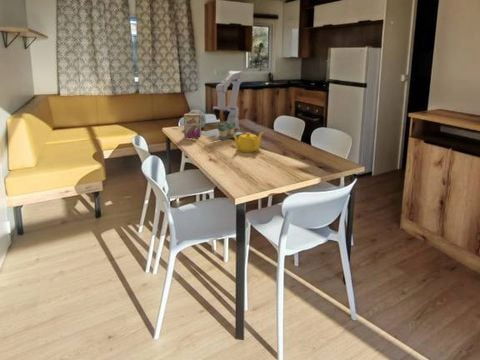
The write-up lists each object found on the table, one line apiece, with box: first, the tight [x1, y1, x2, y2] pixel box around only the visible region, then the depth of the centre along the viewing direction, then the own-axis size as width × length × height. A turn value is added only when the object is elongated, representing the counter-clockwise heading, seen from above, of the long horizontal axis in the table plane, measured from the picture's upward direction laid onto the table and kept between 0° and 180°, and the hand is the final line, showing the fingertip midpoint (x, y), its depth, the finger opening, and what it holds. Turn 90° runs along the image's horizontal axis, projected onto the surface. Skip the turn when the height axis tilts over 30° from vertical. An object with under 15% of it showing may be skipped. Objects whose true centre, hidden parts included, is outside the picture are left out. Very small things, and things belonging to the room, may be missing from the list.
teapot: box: [233, 132, 264, 153], centre depth 239 cm, size 22×16×11 cm
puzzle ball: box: [187, 109, 207, 129], centre depth 298 cm, size 15×15×15 cm
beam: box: [217, 122, 235, 131], centre depth 275 cm, size 14×4×4 cm, turn 142°
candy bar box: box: [183, 113, 202, 139], centre depth 271 cm, size 11×5×16 cm, turn 84°
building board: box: [201, 128, 245, 141], centre depth 281 cm, size 24×26×5 cm
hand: (221, 120), depth 282 cm, fingers open, 7 cm apart
